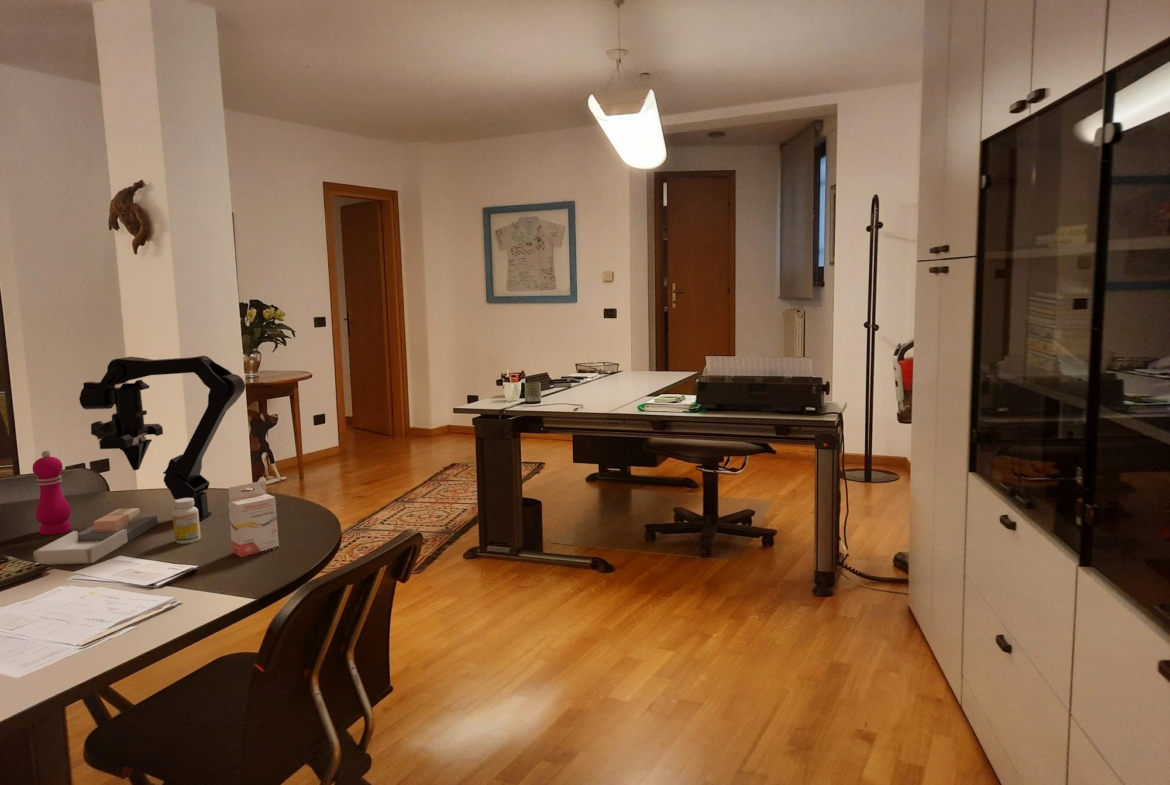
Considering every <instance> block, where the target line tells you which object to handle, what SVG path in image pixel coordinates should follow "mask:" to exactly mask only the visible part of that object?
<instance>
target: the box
mask: <svg viewBox="0 0 1170 785" xmlns="http://www.w3.org/2000/svg"><path fill="white" fill-rule="evenodd" d="M78 533H79V532H78V531H77V530H73V531H71V532H69V533H68V534H66V535H64V536H62V537H60V538H59V537H58V538H57V539H55V540H53V541H52V542H50V543H47V544H46V545H43V546H42V547H39V548H37V549H36V550H34V551H33V552H32V553H33V559H34V560H33V561H34V564H35V563H42V564H46V565H49V566H50V565H75V564H76V565H77V564H78V565H79V564H93V563H95V562H97V561H99V559H102V558H104V557H105V556H106V555H108V554H110V553H112V552H113V551H116V550H117V549H119V548H120V547H122V546H123V545H126V543H128V542H129V541H128V538H127V529H123V530H121V531H119V532H117V533H116V534H114V535H112V536H110V537H109V538H107V539H105V540H103V541H91V542H79V541H78ZM46 565H45V566H46Z"/></svg>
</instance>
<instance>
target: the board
mask: <svg viewBox="0 0 1170 785" xmlns="http://www.w3.org/2000/svg"><path fill="white" fill-rule="evenodd" d="M156 524H157V525H158V524H159V523H158V516H156V515H155V516H153V515H152V516H140V519H138V520H136V521H134V522H132V523H131V524H128V525H127V526H125V527H123V528H122V529H120V530H118V531H112V532H95V530H94V524H93V525H91V526H89V527H88V528H86V529H84V530H81V531H80V532H77V533H78V541H79V542H91V541H103V540H105V539H107V538H109V537H110V536H112V535H114V534H116V533H117V532H119V531H121V530H123V529H127V538H128V542H130V541H132V540H134V539H135V538H137V537H139V536H140V535H142V534H143V533H146V532H147V531H149V530H151V528H154V527H156V526H157V525H156ZM155 525H156V526H155ZM153 526H154V527H153ZM148 529H149V530H148Z"/></svg>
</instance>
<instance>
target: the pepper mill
mask: <svg viewBox="0 0 1170 785" xmlns="http://www.w3.org/2000/svg"><path fill="white" fill-rule="evenodd" d="M62 471H63V463H62V461H61V459H59V458H58V457H54V456H51V452H50V451H49V450H44V451H42V452H41V458H38V459H37V460H35V461H34V463H33V464H32V473H33V474H34V475H35V476H36V477H37V478H36V480H35V481H37V482H36V484H37V485H38V486H39V490H40V491H39V494H40V495H39V499H38V500H39V501H38V503H37V505H36V509H35V519H36V521H37V522H38V523H40V526H39V534H41V535H42V536H54V535H60V534H63V533H66V532H69V531H70V530H71V529H72V525H71V521H69V518H70V517H71V515H72V509H71V505H70V504H69V502H68V501H67V499H66V498H65V496H64V494H63V491H62V487H61V482H62V481H63V480H62V475H61V473H62Z"/></svg>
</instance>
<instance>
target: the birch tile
mask: <svg viewBox="0 0 1170 785" xmlns="http://www.w3.org/2000/svg"><path fill="white" fill-rule="evenodd" d="M107 515H127V518H128V524H131V523H132V522H134V521H136V520H138V519H140V517H141V512H140V508H139V507H138V508H137V507H135V508H134V507H133V508H118V509H116V510H114V511H111V512H110V513H108V514H107Z"/></svg>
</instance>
